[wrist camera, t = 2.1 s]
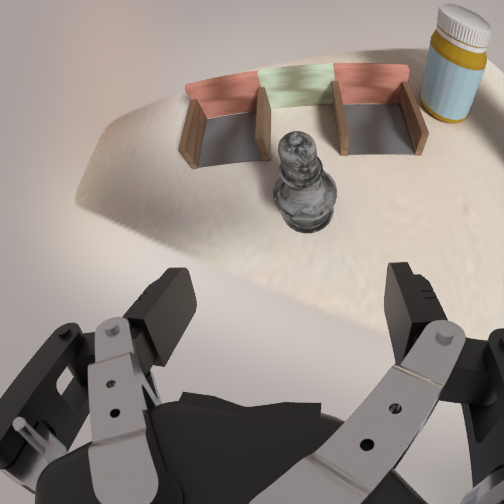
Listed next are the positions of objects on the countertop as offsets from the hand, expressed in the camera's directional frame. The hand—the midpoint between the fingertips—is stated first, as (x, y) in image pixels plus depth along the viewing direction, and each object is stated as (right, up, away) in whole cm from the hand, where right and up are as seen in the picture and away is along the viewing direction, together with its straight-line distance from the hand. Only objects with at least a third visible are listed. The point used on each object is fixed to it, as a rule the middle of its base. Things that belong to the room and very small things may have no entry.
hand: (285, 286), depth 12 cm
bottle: (+24, +20, +19) cm, 37 cm away
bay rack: (+5, +16, +22) cm, 28 cm away
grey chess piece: (+4, +6, +19) cm, 20 cm away
